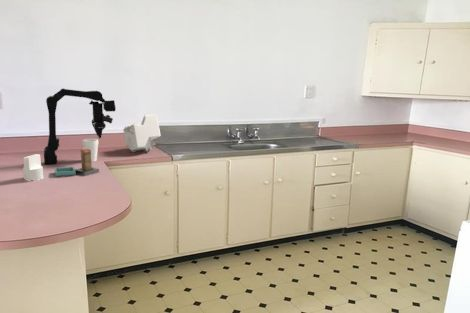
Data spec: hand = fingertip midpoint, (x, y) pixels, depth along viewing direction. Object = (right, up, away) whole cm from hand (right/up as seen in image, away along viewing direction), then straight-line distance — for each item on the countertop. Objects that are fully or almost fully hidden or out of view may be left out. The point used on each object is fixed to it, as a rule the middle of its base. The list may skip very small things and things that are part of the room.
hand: (99, 136), depth 239 cm
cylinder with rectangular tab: (-19, -24, -40) cm, 51 cm away
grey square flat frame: (+3, -21, -27) cm, 34 cm away
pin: (+3, -21, -27) cm, 34 cm away
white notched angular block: (+19, -9, +31) cm, 37 cm away
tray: (-8, -22, -30) cm, 38 cm away
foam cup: (-5, -15, +1) cm, 16 cm away
